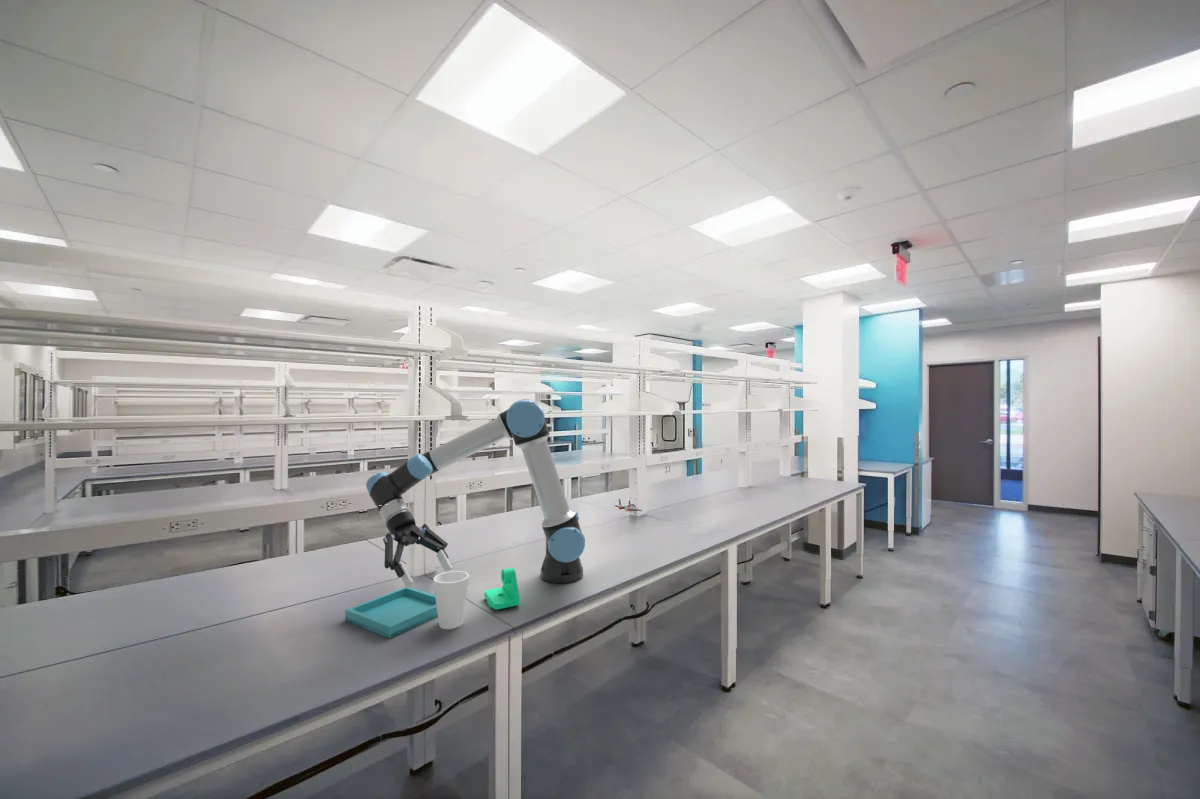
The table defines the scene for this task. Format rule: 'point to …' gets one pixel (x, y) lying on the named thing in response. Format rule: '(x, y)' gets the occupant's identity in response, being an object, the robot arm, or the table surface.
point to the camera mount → (504, 591)
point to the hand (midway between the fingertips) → (430, 577)
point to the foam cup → (451, 597)
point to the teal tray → (394, 612)
